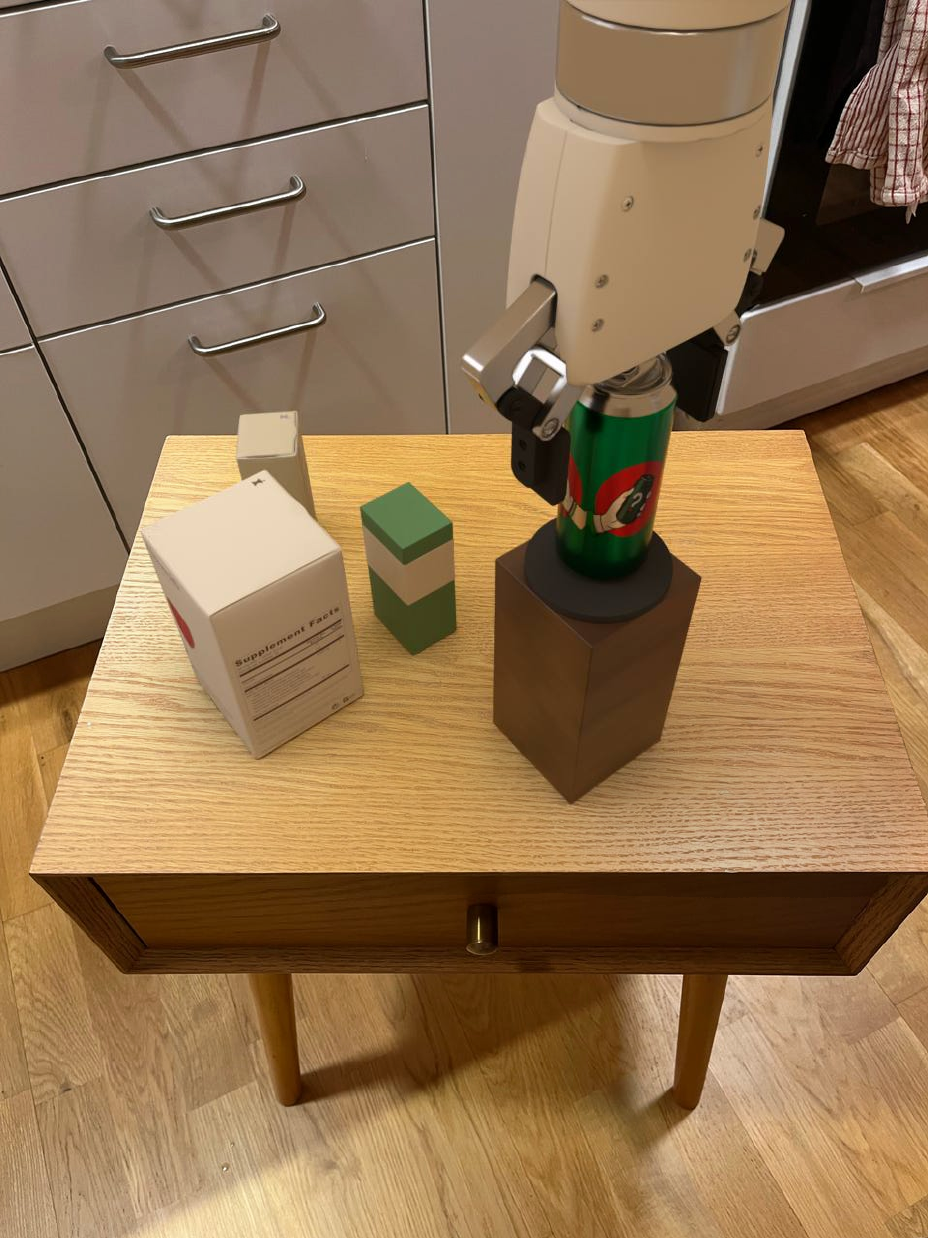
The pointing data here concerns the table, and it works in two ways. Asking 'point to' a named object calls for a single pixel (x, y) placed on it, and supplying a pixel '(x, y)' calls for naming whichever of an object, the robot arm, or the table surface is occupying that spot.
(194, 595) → the rectangular carton
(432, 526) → the block
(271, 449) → the box
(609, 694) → the pedestal
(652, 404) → the soda can
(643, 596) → the coaster
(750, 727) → the table surface
